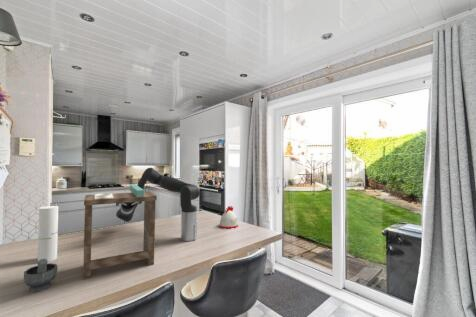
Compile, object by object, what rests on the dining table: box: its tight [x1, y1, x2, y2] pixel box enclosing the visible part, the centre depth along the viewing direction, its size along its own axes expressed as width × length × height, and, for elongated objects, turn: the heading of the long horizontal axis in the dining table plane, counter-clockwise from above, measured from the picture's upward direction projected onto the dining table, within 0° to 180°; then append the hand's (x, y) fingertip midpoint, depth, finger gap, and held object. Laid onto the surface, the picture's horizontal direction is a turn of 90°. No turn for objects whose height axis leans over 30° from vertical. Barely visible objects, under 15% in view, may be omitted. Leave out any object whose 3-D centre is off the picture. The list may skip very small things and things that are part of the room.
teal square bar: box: [129, 184, 145, 197], centre depth 113 cm, size 3×26×3 cm, turn 32°
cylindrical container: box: [37, 205, 59, 263], centre depth 110 cm, size 7×7×25 cm
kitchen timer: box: [219, 205, 239, 230], centre depth 171 cm, size 14×14×15 cm
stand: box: [82, 191, 158, 281], centre depth 105 cm, size 28×16×32 cm, turn 122°
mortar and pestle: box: [23, 259, 58, 293], centre depth 85 cm, size 11×9×12 cm
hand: (130, 196), depth 130 cm, fingers open, 8 cm apart
